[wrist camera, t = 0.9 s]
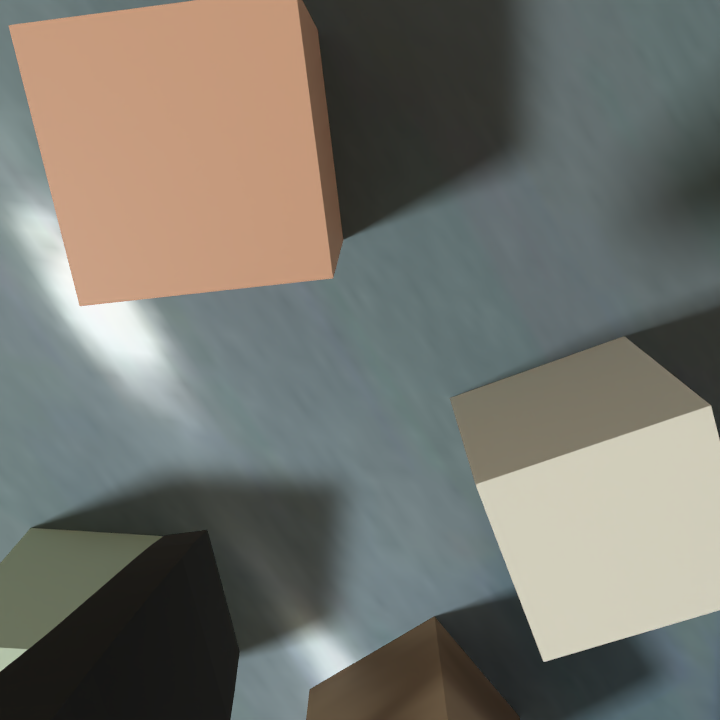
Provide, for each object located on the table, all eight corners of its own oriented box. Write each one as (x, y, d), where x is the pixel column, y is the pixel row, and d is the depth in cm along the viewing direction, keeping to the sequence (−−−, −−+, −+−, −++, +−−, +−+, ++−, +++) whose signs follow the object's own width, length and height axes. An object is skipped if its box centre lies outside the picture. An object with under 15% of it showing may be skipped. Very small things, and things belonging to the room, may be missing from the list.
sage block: (195, 536, 21) (143, 656, 16) (197, 667, 22) (151, 812, 17) (31, 526, 21) (-70, 643, 16) (46, 658, 22) (-42, 800, 17)
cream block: (623, 335, 18) (711, 405, 14) (666, 487, 20) (759, 598, 15) (449, 397, 19) (475, 484, 14) (503, 539, 20) (543, 662, 16)
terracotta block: (317, 29, 16) (295, -14, 11) (343, 239, 18) (332, 278, 13) (113, 56, 16) (8, 25, 12) (156, 260, 18) (79, 306, 13)
